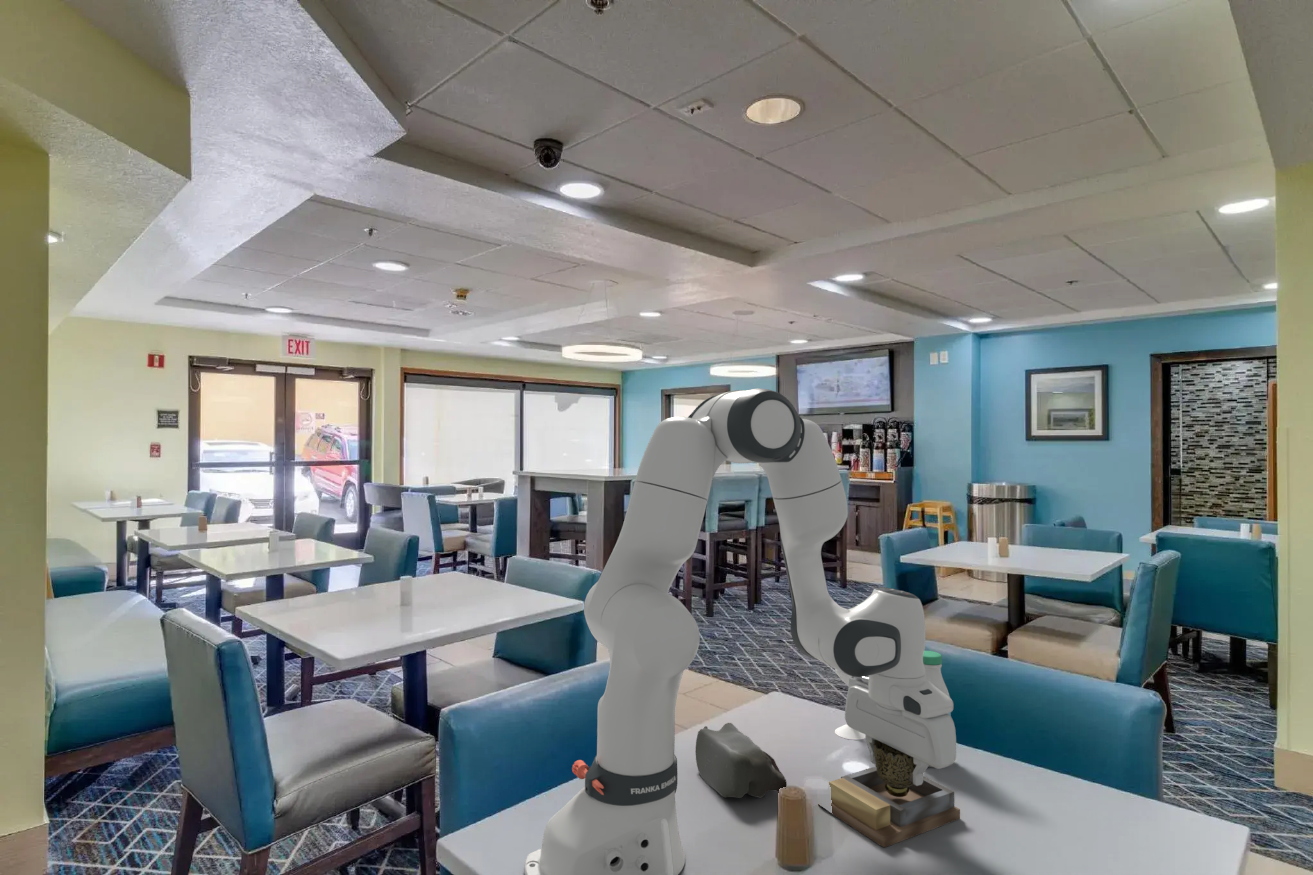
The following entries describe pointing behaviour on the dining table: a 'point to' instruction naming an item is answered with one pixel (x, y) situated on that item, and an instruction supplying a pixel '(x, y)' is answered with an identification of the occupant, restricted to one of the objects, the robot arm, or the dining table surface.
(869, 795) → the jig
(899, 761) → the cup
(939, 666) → the milk bottle
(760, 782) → the rock
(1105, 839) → the dining table surface
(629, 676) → the robot arm
